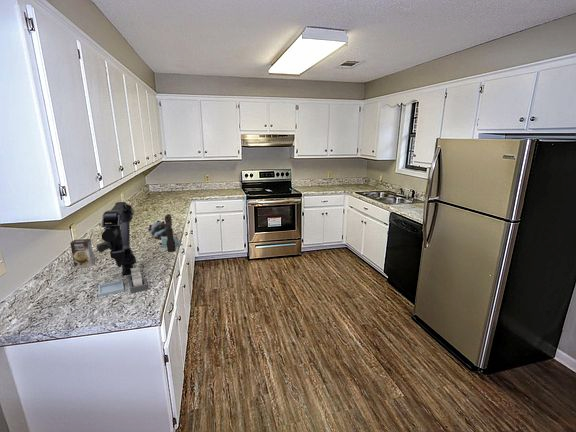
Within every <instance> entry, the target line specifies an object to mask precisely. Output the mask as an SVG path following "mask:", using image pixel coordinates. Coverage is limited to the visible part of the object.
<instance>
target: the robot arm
mask: <svg viewBox="0 0 576 432" xmlns="http://www.w3.org/2000/svg"><path fill="white" fill-rule="evenodd" d="M114 204H115V205H114V206H113V207H112V208H111V209H109V210H107V211H104V212H103V214H102V219H101V228H104V231H103V232H102V233H101V239H102V240H103V242H101V243H98V244H97V245H96V249H97V251H98V253H103V252H105V251H107V250H110V251H109V254H110V258H111V259H113V260H114V261H115V263H116V265H117V268H121V269H122V270H121V276H122V277H125V276H129V275H131V268H134V265H135V264H137V257H136V256H135V254H134V252H133V250H132V249H131V247H130V246H131V244H130V243H131V240H130V232H131V231H130V229H131V228H130V226H131V225H130V223H131V221H132V220H133V216H134V214H135V213H134V212H135V211H134V208H133V207H132V205H130V204H128V203H127V202H125V201H117V202H115V203H114Z"/></svg>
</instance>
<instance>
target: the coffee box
mask: <svg viewBox="0 0 576 432" xmlns="http://www.w3.org/2000/svg"><path fill="white" fill-rule="evenodd" d="M69 244H70V248H71V255H72V261H73V267H74V269H80V268H90V267H91V268H92V266H93V265H94V264H95V260H94V259H95V258H94V252H93V246H92V245H93V243H92V239H91V238H83V239H73V240H72V241H71V242H70V243H69Z"/></svg>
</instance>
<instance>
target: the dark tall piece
mask: <svg viewBox="0 0 576 432" xmlns="http://www.w3.org/2000/svg"><path fill="white" fill-rule="evenodd" d="M164 222H165V224H166V235H165V236H163V237H161V238H160V239H161V242H159V246H158V247H159V248H160V249H161V248H162V249H166V248H167V253H174V252H176V248H177V247H181V246H184V245H183V243H181V242H180V240H179V238H178V237H177V236H174V232H173V228H172V227H173V226H172V225H173V220H172V215H171V214H170V213H167V214H166V215H165V216H164Z"/></svg>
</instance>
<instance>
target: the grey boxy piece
mask: <svg viewBox="0 0 576 432" xmlns="http://www.w3.org/2000/svg"><path fill="white" fill-rule="evenodd" d="M138 273H141V276H142V284H143V285H139V286H134V287H133V279H132V275H133V274H138ZM127 281H128V286H129V290H130V294H136V293H139V292H144V291H148V284H147V281H146V278H145V274H144V272H141V270H140V266H139V267H133V268H131V275H127Z"/></svg>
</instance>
